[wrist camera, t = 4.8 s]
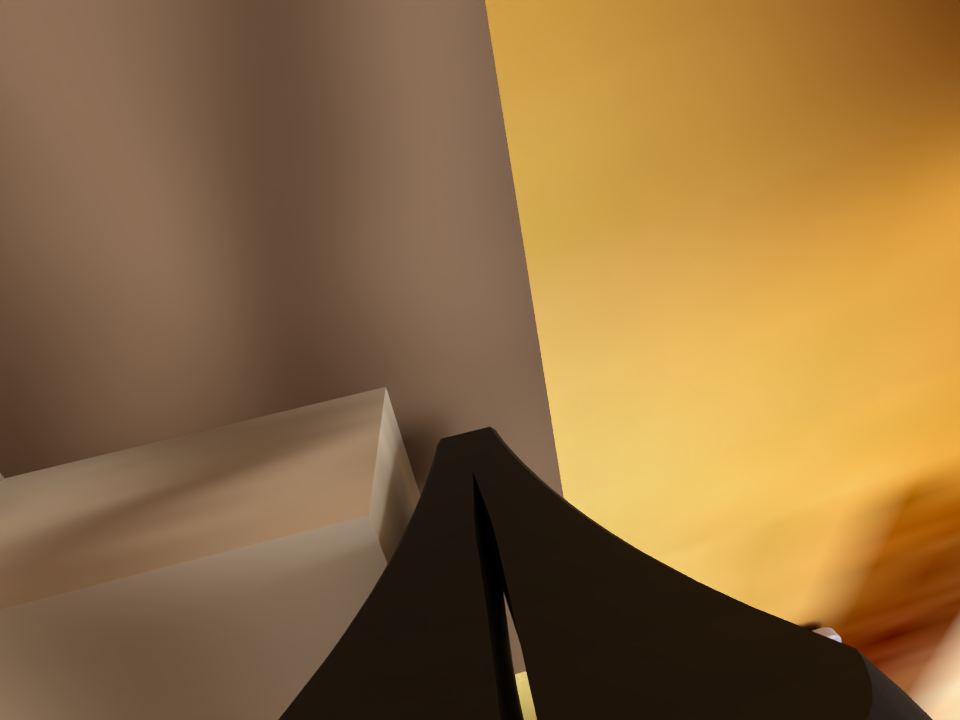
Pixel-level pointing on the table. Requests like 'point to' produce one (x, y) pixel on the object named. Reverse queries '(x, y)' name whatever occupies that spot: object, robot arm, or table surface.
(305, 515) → the t block
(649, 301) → the table surface
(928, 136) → the table surface
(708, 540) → the table surface
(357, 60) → the board
